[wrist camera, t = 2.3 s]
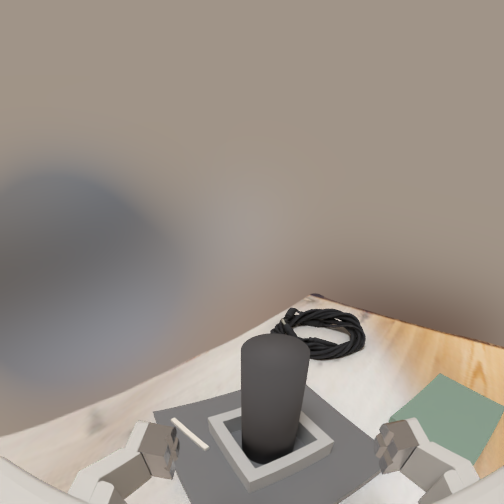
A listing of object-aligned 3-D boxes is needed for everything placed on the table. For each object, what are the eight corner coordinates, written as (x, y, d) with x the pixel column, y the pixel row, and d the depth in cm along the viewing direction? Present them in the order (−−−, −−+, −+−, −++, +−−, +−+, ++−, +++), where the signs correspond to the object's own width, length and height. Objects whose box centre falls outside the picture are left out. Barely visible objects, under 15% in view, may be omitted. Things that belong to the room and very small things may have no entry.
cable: (371, 336, 50) (375, 316, 49) (348, 375, 39) (353, 352, 38) (295, 315, 60) (296, 297, 59) (257, 343, 49) (258, 322, 48)
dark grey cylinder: (303, 451, 24) (324, 356, 21) (257, 472, 21) (263, 379, 18) (276, 421, 28) (284, 328, 25) (232, 437, 26) (229, 342, 23)
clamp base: (391, 463, 21) (404, 443, 20) (222, 557, 12) (219, 548, 11) (291, 379, 38) (293, 358, 37) (155, 419, 29) (149, 397, 28)
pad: (502, 412, 22) (505, 407, 22) (466, 473, 16) (471, 468, 16) (437, 378, 34) (439, 373, 34) (388, 422, 28) (390, 416, 28)
